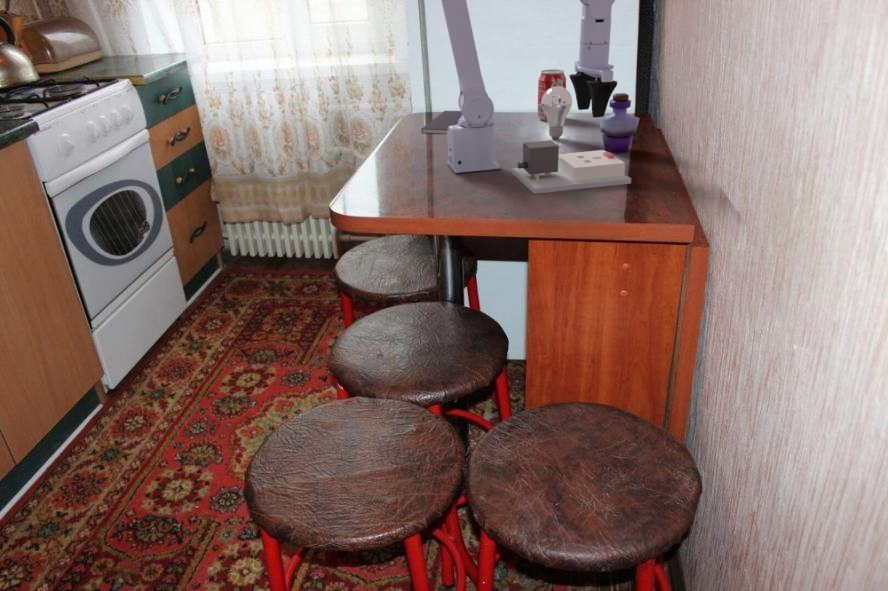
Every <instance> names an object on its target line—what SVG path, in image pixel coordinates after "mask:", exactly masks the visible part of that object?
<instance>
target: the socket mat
mask: <svg viewBox="0 0 888 591" xmlns="http://www.w3.org/2000/svg"><path fill="white" fill-rule="evenodd" d="M511 173H512V174H513V176H514V177H516V179H518V180H519V181H520V182H521V183H522V184H523V185H524V186H525V187H527V189H528V190H529V191H531V193H533V195H535V194H544V193H545V194H546V193H553V192H554V193H555V192H564V191H572V190H574V191H575V190H583V189H593V188H602V187H603V188H604V187H610V186H611V187H612V186H621V185H629V184H630V185H631V184H632V177H630V176H628V175H627V174H625V173H624V176H618V177H608V178H598V179H588V180H579V181H574V180H572V179H571V178H570V177H568V176H567V175H566V174H565V173H563V172H562V171H561V170H559V169H558V172H552V173H550V176H545V173H542V174H539V180H536V179H535V174H533V175H530V174H529V173H528V172H527V171H525V170H524V169H523V168H521V169H518V167H511Z"/></svg>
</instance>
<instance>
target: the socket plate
mask: <svg viewBox="0 0 888 591" xmlns="http://www.w3.org/2000/svg"><path fill="white" fill-rule="evenodd" d="M625 167H626V162H624V161H623V160H621V159H619V158H618V157H616V156H615V153H610V152H606V151H605V149H598V150H592V151H591V150H587V151H579V152H577V151H576V152H569V153H568V152H567V153H560V154H559V155H558V169H559V170H561V171H562V172H563V173H565V174H566V175H567V176H568V177H570V178H571V179H572V180H574V181H579V180H588V179H598V178H608V177H618V176H624V174H625V171H626V170H625V169H626V168H625Z"/></svg>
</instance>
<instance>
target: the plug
mask: <svg viewBox="0 0 888 591" xmlns="http://www.w3.org/2000/svg"><path fill="white" fill-rule="evenodd" d="M522 145H523V146H522V161H518V162H517V168H518V169H521V168H523V169H524V170H525V171H527V172H528V173H529V174H530V175H533V174H535V179H536V180H539V174H542V173H545V176H550V173H552V172H558V155H559V149H560V146H559V145H558V144H557V143H555V141H553V140H551V139H548V140H539V141H527V142H522Z"/></svg>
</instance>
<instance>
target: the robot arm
mask: <svg viewBox="0 0 888 591" xmlns="http://www.w3.org/2000/svg"><path fill="white" fill-rule="evenodd" d="M579 1H580V3H581V5H582V6H581V8H582V9H581V19H580V33H579V35H580V36H579V55H578V61H577V60H576V61H574V72H575V73H573V74H569V75H568V76H569V79H570V82H571V84H572V86H573V87H572V88H573V89H574V94H575V98H576V106H577V109H578V110H579V111H583V110H589V108H590V106H591V112H592V113H591V114H592V117H593V118H601V117H604V115H606V111H607V107H608V106H609V103H610V98H611V96H612V95H613V92H614V91H615V89H616V87H617V86H618V81H617V80H614V68H615V67H614V66H615V65H614V64H611V63H609V61H610V60H609V59H610V58H609V57H610V45H611V44H610V42H611V30H612V29H611V28H612V9H613V8H612V6H613V5H614V3H615V2H616V0H579ZM441 6H442V10H443V14H444V19H445V24H446V28H447V33H448V36H449V37H448V38H449V42H450V46H451V50H452V57H453V60H454V64H455V65H454V66H455V69H456V73H457V80H458V86H459V96H458V107H459V109H460V111H462V116H461V118H460V119H459V120H458V124H457V125H453V126H449V127H448V129H447V133H446V143H447V144H446V146H447V165H448V166H449V167H450V169H452V171H453V172H454V173H455V174H461V173H470V172H471V173H472V172H481V171H488V170H489V171H491V170H500V169H501V166H500V165H499V164H498V163H497V162H496V161H495V127H494V126H495V124H494V123H495V120H494V119H493V116H494V111H495V105H494V103H493V101H492V99H491V98H490V96H489V95H488V92H487V91H486V86H485V83H484V78H483V75H482V70H481V66H480V62H479V57H478V56H479V55H478V51H477V46H476V42H475V38H474V32H473V27H472V24H471V17H470V13H469V8H468V3H467V0H441Z"/></svg>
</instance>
